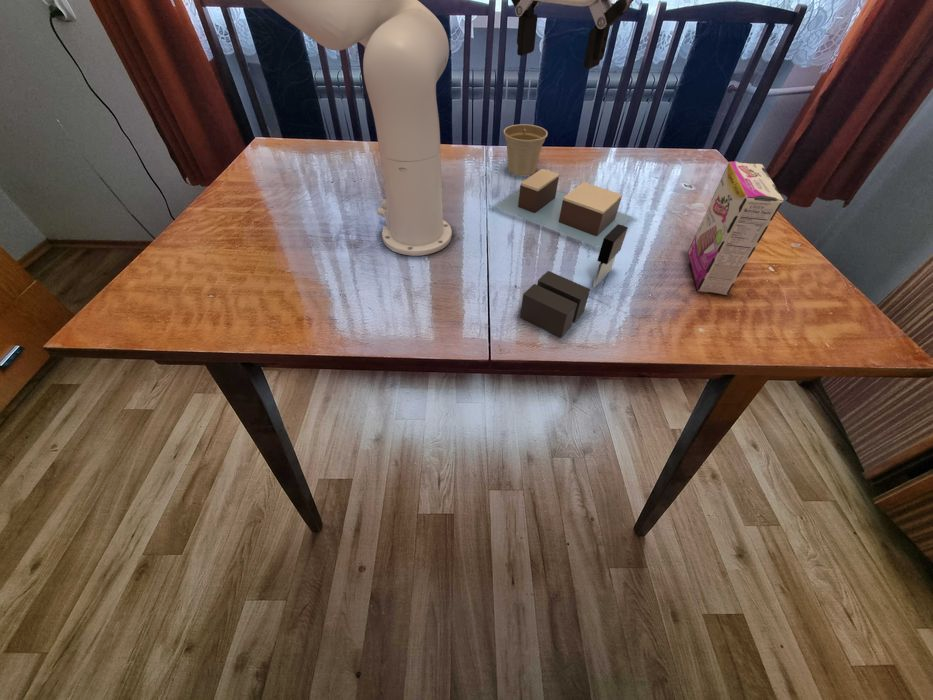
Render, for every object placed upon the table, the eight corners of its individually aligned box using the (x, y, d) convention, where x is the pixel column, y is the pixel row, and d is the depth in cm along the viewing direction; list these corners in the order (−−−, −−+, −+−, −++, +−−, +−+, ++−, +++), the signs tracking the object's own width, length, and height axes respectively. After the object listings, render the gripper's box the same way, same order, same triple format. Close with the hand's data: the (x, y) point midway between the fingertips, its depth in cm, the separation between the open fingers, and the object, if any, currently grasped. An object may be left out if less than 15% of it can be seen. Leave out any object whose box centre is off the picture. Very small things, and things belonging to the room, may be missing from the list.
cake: (558, 222, 80) (563, 197, 76) (578, 206, 84) (583, 181, 80) (596, 236, 76) (603, 211, 73) (615, 219, 81) (622, 194, 77)
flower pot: (494, 165, 98) (497, 126, 91) (531, 161, 100) (536, 121, 93) (509, 183, 92) (513, 142, 85) (548, 178, 94) (555, 137, 87)
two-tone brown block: (517, 207, 83) (520, 182, 80) (538, 192, 88) (542, 168, 84) (534, 213, 82) (538, 188, 78) (555, 198, 86) (559, 174, 82)
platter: (493, 209, 84) (493, 206, 83) (530, 184, 91) (530, 181, 91) (598, 250, 74) (599, 247, 74) (630, 219, 82) (631, 216, 81)
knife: (597, 292, 66) (612, 243, 60) (588, 288, 67) (602, 239, 60) (613, 274, 70) (629, 226, 63) (604, 270, 70) (619, 222, 64)
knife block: (519, 317, 62) (522, 293, 59) (543, 293, 66) (548, 270, 63) (561, 338, 59) (567, 314, 56) (583, 312, 63) (590, 289, 60)
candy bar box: (684, 253, 74) (727, 159, 62) (714, 256, 73) (763, 163, 61) (694, 292, 67) (746, 194, 55) (728, 297, 66) (787, 199, 54)
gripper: (493, -146, 43) (485, 54, 55) (658, -152, 36) (606, 79, 48) (532, -141, 47) (517, 44, 59) (687, -146, 40) (632, 66, 52)
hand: (557, 59), depth 54 cm, fingers open, 9 cm apart
